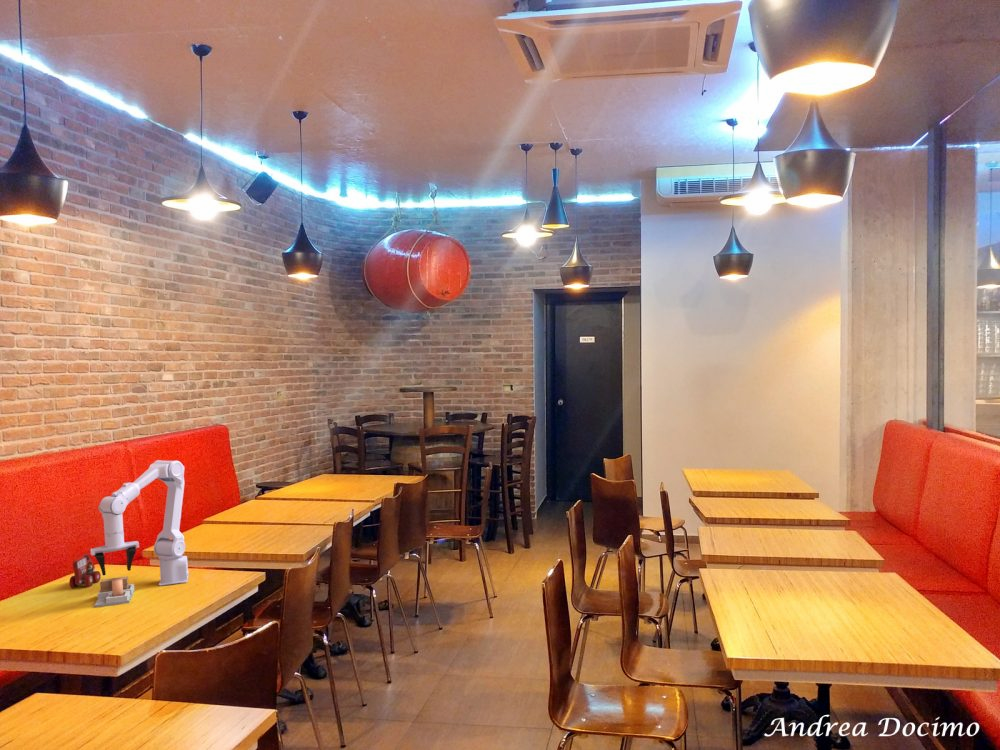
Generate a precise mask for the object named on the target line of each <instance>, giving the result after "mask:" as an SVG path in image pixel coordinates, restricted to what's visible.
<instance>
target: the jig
mask: <svg viewBox="0 0 1000 750" xmlns="http://www.w3.org/2000/svg"><path fill="white" fill-rule="evenodd" d="M134 593H135V584H134V583H131V584H129V589H126V590H123V596H116V597H113V592H112V591H110V592H102V593H101V588H100V589H99V590H98V593H97V600H96V602H95V603H94V606H93V608H99V607H109V606H115V605H123V604H129V603H130V602H131V600H132V597H133V595H134Z"/></svg>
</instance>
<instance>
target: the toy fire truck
mask: <svg viewBox="0 0 1000 750" xmlns="http://www.w3.org/2000/svg"><path fill="white" fill-rule="evenodd" d="M90 556H91V555H89V554H84V555H83V556H81V557H80V558H77V559H75V560H73V562H72V568H73V572H74V575H72V576H70V578H69V582H68V584H69V586H70V588H77V587H78V586H79V585H81V586H82V585H84V586H85V587H89V586H90V587H92V586H93V584H94V583H98V582H99V583H100V582H101V572H100V571H99V570H96V567H95V564H94V562H93V559H92V558H90Z"/></svg>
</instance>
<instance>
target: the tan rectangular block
mask: <svg viewBox="0 0 1000 750" xmlns="http://www.w3.org/2000/svg"><path fill="white" fill-rule="evenodd" d="M115 579H122V581H123V590H126V589H129V585H130V584H129V576H119V577H111V578H104V579H103V578H102V579H100V581H99V585H100V587H99V588H100V589H101V593H102V592H110V591H112V580H115Z"/></svg>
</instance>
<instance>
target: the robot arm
mask: <svg viewBox="0 0 1000 750" xmlns="http://www.w3.org/2000/svg"><path fill="white" fill-rule="evenodd" d="M185 468H186V467H185V465H183V463H182V462H181V461H179V460H161V459H160V460H159V459H158V460H155V461H154V462H153V463H151V464H150V465H149V467H148V469H146V470H145V471H144V472H143V473H142V474H141V475H140V476H139V477H138V478H137V479H135V480H134V481H133V482H129V481H128V482H124V483H123V484H122V485H121V487H120V488H119V489H118V490H116V491H114V492H112V493H111V495H110V496H104V497H103V498H102V500H100V503H99V506H98V510H99V512H100V513H101V516H102V519H103V529H104V531H103V532H104V543H105V544H104V545H101V546H97V547H93V548H90V556H94V557H95V559H96V561H97V562H98V565H99V567H100V570H101V574H102V576H106V574H107V573H106V572H107V571H106V567H105V565H106V562H105V557H106V556H105V554H106V553H111V552H117V551H122V550H125V554H126V569H127V571H131V569H132V564H133V560H134V557H135V555H136V553H137V548H140V543H139V541H138V540H135V541H126V542H125V532H124V517H123V513H124V512H125V510H126V508H127V506H128V505H129V504H130V503H131V502H133V500H135V499H136V498H137V497H138V496H139V495H140V493H141V490H142V489H144V488H145V487H146V486H148V485H150V484H151V483H152V482H153V481H155V480H156V479H157V480H160V481H161V482H163V483H164V484H165V486H167V494H166V499H165V500H166V502H165V510H164V517H163V519H164V520H163V527H162V530H161V531H160V532H159V533H158V534H157V537H156V541H155V543H154V546H153V552H154V554H155V555H156V556H157V559H159V572H160V574H159V575H160V580H159V582H158V586H159V587H160V586H161V587H162V586H167V585H169V586H170V585H176V584H184V583H185V584H186V583H188V581H189V577H190V571H189V566H188V565H189V564H188V556H187V555H184V553H185V550H186V543H185V536H184V534H183V533H182V532H181V531H180V526H181V519H182V511H183V510H182V508H183V499H184V492H185V491H184V490H185V477H184V476H185Z"/></svg>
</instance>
